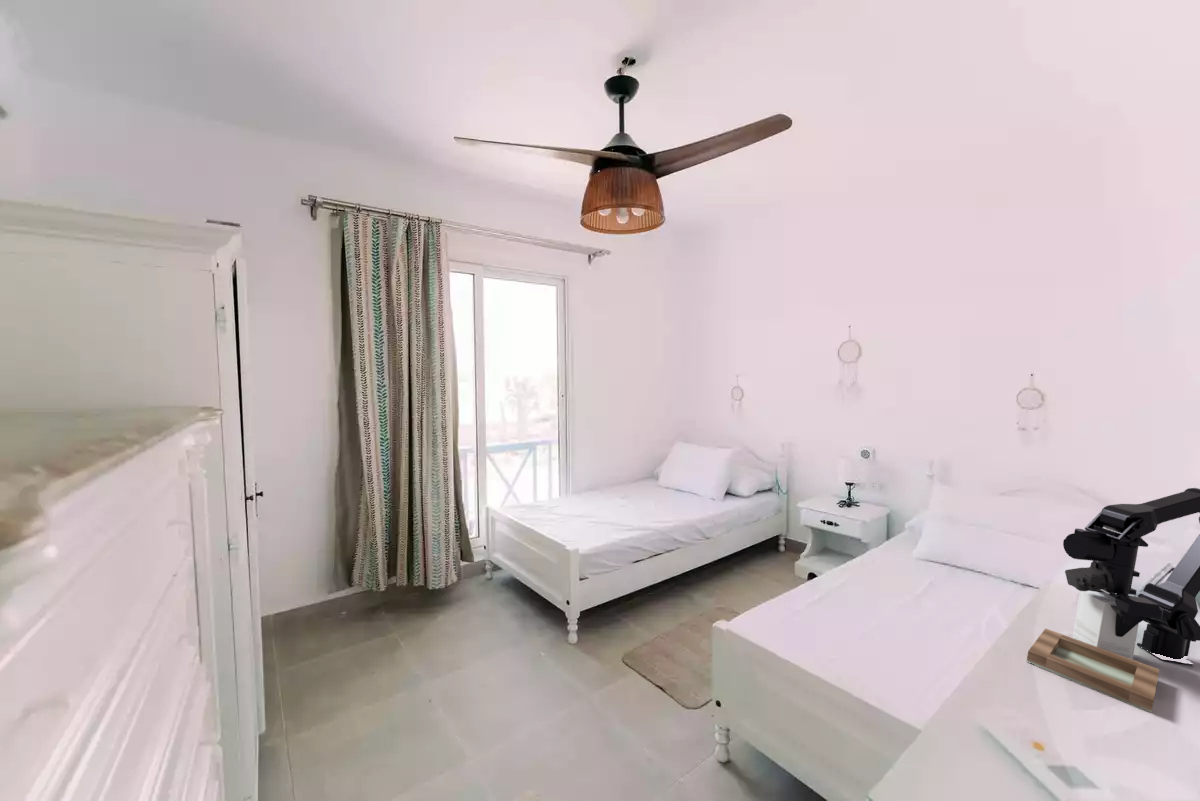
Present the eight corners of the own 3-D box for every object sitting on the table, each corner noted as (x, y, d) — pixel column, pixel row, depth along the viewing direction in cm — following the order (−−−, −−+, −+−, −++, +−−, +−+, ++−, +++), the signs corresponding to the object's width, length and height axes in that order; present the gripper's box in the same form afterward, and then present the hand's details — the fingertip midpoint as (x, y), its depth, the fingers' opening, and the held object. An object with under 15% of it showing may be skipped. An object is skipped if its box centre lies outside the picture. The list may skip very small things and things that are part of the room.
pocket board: (1043, 638, 117) (1045, 628, 116) (1157, 680, 103) (1159, 669, 102) (1026, 661, 105) (1028, 650, 105) (1151, 713, 91) (1153, 700, 91)
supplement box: (1133, 662, 109) (1143, 608, 108) (1094, 656, 110) (1104, 602, 110) (1106, 644, 116) (1115, 593, 115) (1070, 638, 118) (1079, 588, 117)
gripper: (1047, 542, 122) (1037, 602, 124) (1108, 572, 104) (1096, 642, 105) (1099, 549, 120) (1088, 610, 122) (1171, 581, 102) (1158, 653, 103)
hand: (1104, 627), depth 113 cm, fingers closed on supplement box, 7 cm apart
